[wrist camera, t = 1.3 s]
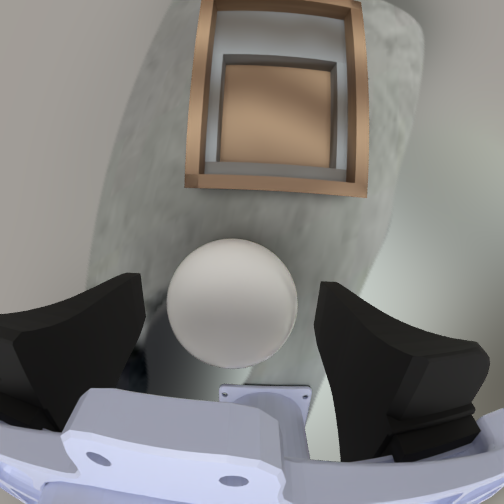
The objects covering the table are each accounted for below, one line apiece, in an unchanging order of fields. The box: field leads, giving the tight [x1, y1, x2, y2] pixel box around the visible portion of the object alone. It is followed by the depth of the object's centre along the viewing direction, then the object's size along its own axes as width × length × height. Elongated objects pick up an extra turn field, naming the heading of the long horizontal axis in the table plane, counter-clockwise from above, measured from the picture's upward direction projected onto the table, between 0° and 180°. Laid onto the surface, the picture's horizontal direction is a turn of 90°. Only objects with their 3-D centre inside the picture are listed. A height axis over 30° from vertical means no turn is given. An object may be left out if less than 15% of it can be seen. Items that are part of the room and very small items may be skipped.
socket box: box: [184, 0, 369, 198], centre depth 18 cm, size 14×11×4 cm
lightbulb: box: [167, 239, 298, 369], centre depth 17 cm, size 6×6×11 cm
